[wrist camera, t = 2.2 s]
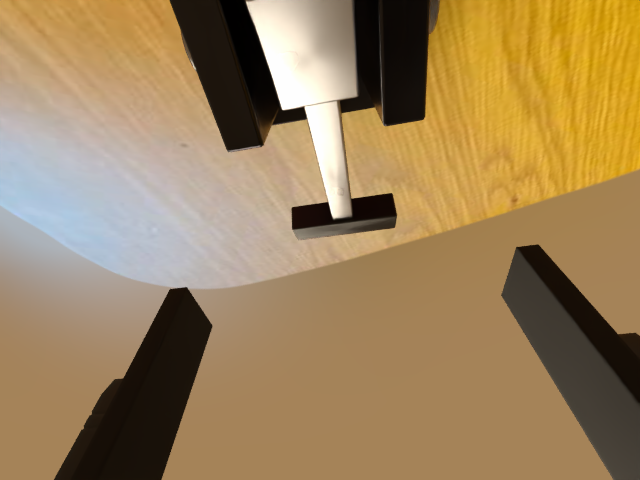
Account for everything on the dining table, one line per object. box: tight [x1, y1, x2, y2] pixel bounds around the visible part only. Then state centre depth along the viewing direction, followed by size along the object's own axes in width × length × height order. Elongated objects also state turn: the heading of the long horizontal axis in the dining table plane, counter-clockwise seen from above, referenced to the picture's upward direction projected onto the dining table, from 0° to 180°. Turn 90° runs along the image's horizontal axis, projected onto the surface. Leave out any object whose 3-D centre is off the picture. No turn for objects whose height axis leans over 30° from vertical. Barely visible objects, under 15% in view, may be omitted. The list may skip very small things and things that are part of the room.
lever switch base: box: [170, 0, 440, 152], centre depth 12 cm, size 11×9×14 cm
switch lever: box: [244, 0, 397, 240], centre depth 12 cm, size 12×6×2 cm, turn 9°
